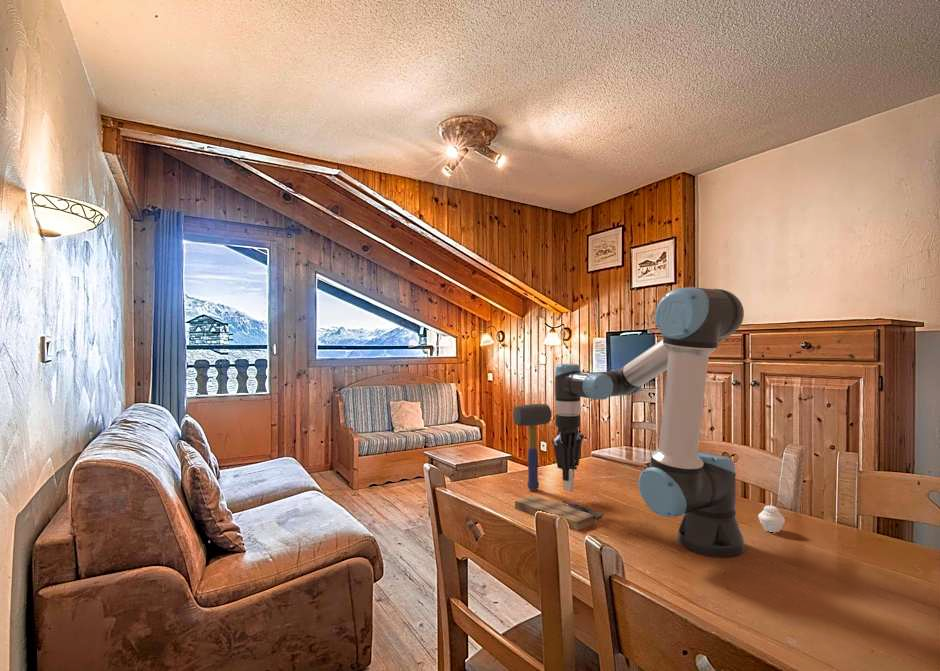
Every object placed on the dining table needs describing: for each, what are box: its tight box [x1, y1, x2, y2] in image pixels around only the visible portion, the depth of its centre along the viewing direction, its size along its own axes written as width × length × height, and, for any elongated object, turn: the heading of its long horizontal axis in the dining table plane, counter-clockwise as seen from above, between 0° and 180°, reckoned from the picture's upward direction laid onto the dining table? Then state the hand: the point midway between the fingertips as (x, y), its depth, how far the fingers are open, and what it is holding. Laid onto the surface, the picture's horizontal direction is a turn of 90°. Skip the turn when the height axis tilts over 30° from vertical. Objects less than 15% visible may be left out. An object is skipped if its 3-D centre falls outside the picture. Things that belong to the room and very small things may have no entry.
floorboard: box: [514, 495, 596, 532], centre depth 147 cm, size 24×8×2 cm, turn 40°
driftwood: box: [562, 500, 603, 520], centre depth 153 cm, size 21×7×2 cm, turn 35°
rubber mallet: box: [512, 403, 553, 492], centre depth 173 cm, size 12×8×30 cm, turn 111°
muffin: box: [758, 505, 786, 533], centre depth 134 cm, size 6×6×7 cm
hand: (568, 490), depth 152 cm, fingers closed
